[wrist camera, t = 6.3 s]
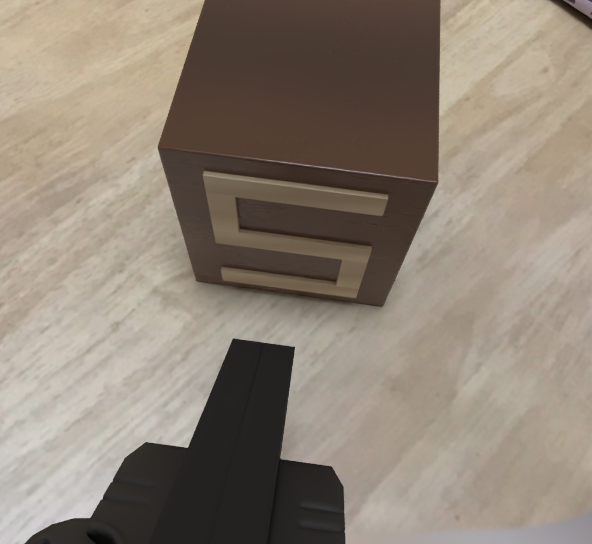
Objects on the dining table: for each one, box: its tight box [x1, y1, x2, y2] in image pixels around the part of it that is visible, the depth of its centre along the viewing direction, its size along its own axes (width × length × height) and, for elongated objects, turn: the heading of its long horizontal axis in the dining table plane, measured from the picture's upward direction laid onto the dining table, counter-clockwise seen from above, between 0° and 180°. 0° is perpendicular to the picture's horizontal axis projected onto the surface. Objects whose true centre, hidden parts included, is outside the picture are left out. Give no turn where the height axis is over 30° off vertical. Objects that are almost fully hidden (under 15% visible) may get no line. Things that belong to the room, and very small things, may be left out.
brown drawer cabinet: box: [158, 0, 440, 306], centre depth 18 cm, size 8×7×8 cm
